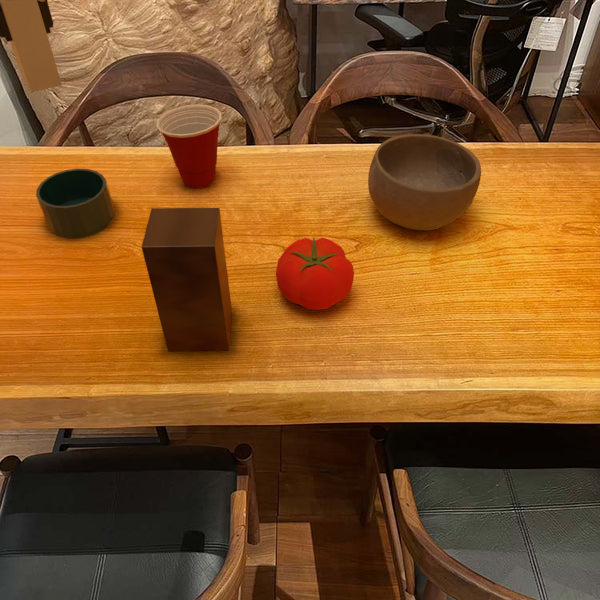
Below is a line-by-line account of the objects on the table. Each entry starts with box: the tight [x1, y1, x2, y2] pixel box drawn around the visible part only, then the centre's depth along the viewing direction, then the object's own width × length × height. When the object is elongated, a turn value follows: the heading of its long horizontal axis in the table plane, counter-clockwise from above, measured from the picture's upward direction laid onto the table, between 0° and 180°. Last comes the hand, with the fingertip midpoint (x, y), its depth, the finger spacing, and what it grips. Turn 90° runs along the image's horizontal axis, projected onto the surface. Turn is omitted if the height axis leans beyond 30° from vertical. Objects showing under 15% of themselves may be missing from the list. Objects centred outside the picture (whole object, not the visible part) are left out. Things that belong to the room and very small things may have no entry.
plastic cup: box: [155, 104, 222, 189], centre depth 100 cm, size 11×11×12 cm
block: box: [0, 0, 63, 93], centre depth 74 cm, size 4×4×11 cm
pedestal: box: [141, 207, 233, 352], centre depth 73 cm, size 8×7×18 cm
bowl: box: [367, 133, 482, 231], centre depth 94 cm, size 17×18×10 cm
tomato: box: [275, 237, 355, 311], centre depth 82 cm, size 11×11×8 cm
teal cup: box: [35, 168, 115, 239], centre depth 94 cm, size 11×11×6 cm
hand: (27, 34), depth 73 cm, fingers closed on block, 4 cm apart
